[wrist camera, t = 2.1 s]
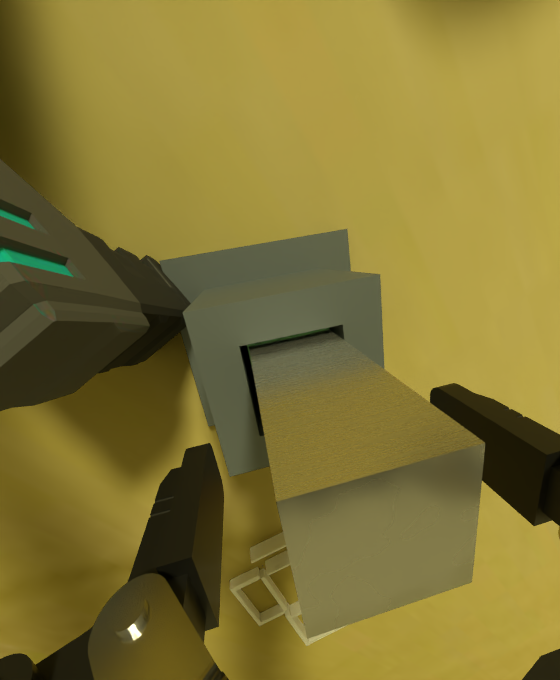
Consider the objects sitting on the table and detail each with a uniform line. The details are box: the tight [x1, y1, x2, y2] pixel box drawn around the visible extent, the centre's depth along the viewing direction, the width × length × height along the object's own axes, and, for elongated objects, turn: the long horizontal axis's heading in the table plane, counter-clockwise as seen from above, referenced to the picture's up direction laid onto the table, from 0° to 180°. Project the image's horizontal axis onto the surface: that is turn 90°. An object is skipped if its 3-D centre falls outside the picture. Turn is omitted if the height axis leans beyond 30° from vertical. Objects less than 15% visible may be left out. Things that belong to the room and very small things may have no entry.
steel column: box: [247, 328, 485, 639], centre depth 13 cm, size 4×4×16 cm
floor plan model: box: [230, 532, 347, 646], centre depth 32 cm, size 19×25×2 cm
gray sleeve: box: [160, 229, 384, 477], centre depth 18 cm, size 14×14×10 cm
